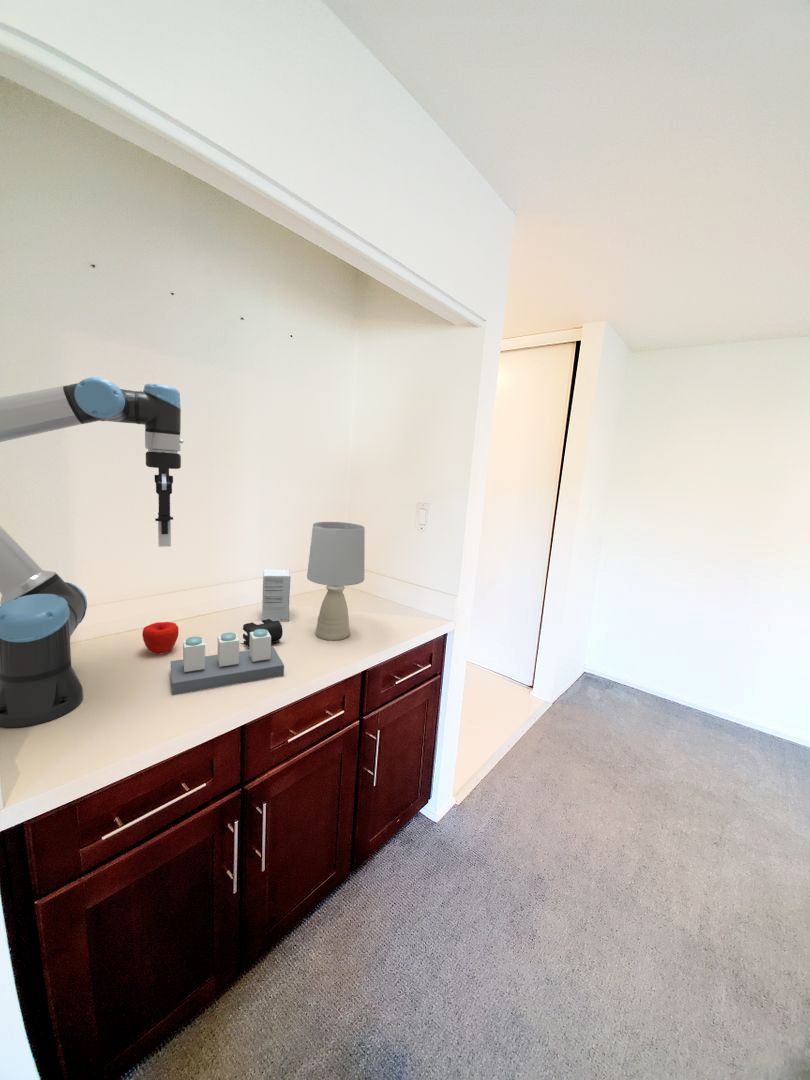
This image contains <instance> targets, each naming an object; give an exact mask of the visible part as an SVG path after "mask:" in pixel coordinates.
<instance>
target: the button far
mask: <svg viewBox="0 0 810 1080" xmlns="http://www.w3.org/2000/svg"><path fill="white" fill-rule="evenodd" d="M271 647H272V642H271V635H270V634H269V632H268V630H266V629H257V630H254V631H253V632H250V647H248V649H249V655H250V657H251V659H252V661H253V662H254V661H260V660H267V659H270V658H271Z"/></svg>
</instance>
